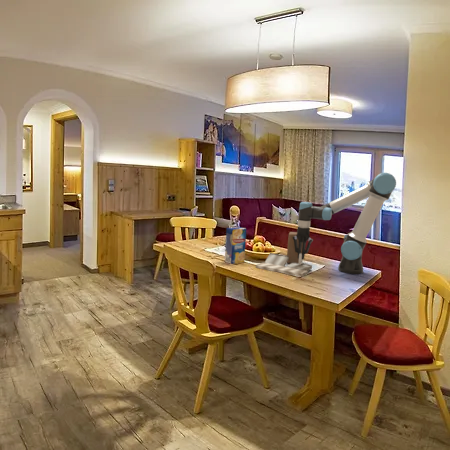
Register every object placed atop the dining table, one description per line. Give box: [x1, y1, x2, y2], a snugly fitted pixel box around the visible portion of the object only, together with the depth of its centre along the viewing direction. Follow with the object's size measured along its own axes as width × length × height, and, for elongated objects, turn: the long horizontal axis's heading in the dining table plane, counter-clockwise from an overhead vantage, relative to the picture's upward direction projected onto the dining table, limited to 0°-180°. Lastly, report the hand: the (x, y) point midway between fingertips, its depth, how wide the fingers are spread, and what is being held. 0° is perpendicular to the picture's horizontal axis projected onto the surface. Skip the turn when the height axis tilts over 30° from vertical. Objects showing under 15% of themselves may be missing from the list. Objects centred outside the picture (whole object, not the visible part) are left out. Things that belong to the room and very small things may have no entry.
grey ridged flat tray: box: [255, 262, 309, 277], centre depth 245 cm, size 30×10×2 cm, turn 59°
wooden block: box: [286, 231, 303, 265], centre depth 266 cm, size 10×10×20 cm
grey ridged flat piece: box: [264, 252, 289, 267], centre depth 256 cm, size 13×9×2 cm
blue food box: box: [224, 226, 247, 265], centre depth 259 cm, size 7×11×22 cm, turn 128°
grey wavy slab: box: [286, 262, 313, 272], centre depth 250 cm, size 13×9×2 cm
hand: (300, 263), depth 252 cm, fingers closed
